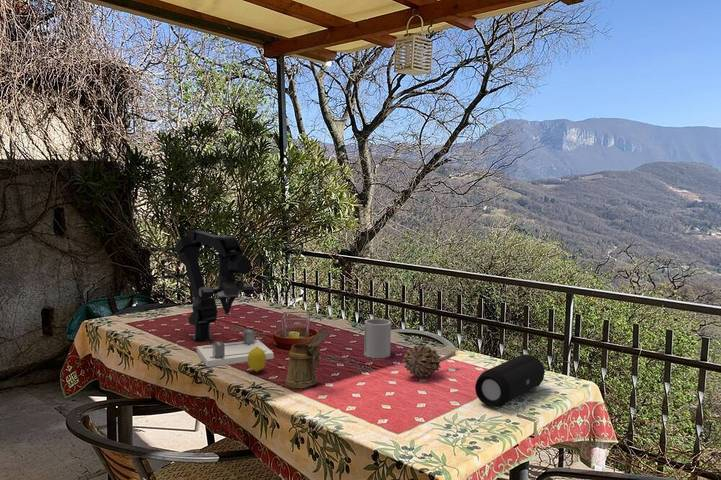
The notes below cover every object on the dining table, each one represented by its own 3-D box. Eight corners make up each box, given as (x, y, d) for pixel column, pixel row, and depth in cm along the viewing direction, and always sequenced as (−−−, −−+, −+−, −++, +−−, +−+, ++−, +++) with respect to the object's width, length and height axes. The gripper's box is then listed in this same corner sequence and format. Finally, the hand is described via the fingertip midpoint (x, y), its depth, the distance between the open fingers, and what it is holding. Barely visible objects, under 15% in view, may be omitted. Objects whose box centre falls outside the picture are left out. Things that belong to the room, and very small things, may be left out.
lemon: (261, 375, 162) (261, 350, 161) (244, 374, 163) (244, 348, 162) (268, 370, 167) (268, 345, 167) (252, 368, 168) (252, 343, 168)
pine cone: (419, 386, 155) (420, 353, 155) (395, 377, 162) (396, 345, 162) (464, 370, 170) (465, 340, 169) (441, 363, 177) (441, 334, 177)
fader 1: (212, 354, 174) (212, 342, 174) (221, 353, 176) (221, 341, 175) (215, 357, 171) (215, 345, 170) (224, 356, 172) (224, 344, 172)
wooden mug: (314, 394, 147) (315, 331, 146) (279, 384, 155) (279, 323, 153) (334, 385, 154) (335, 325, 153) (299, 376, 162) (300, 318, 161)
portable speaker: (505, 415, 136) (506, 377, 135) (471, 404, 143) (472, 368, 142) (546, 389, 155) (548, 356, 154) (515, 381, 161) (516, 349, 161)
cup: (395, 355, 185) (396, 321, 184) (378, 361, 178) (379, 326, 177) (375, 350, 191) (376, 317, 190) (358, 355, 185) (359, 321, 184)
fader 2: (243, 341, 191) (243, 329, 191) (251, 340, 192) (251, 329, 192) (246, 343, 188) (246, 332, 187) (254, 342, 189) (254, 331, 189)
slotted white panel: (196, 352, 185) (196, 346, 185) (258, 345, 195) (258, 339, 195) (207, 367, 169) (207, 360, 169) (273, 358, 179) (273, 352, 179)
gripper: (204, 276, 178) (204, 321, 179) (258, 273, 186) (258, 316, 188) (198, 271, 188) (198, 314, 189) (250, 269, 196) (250, 310, 198)
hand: (226, 314), depth 191 cm, fingers closed
